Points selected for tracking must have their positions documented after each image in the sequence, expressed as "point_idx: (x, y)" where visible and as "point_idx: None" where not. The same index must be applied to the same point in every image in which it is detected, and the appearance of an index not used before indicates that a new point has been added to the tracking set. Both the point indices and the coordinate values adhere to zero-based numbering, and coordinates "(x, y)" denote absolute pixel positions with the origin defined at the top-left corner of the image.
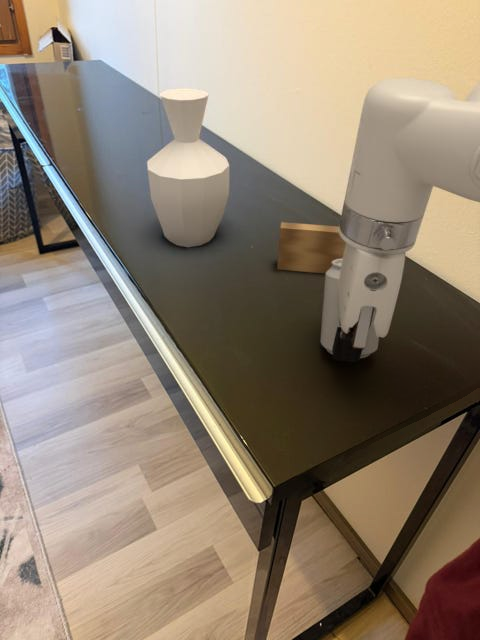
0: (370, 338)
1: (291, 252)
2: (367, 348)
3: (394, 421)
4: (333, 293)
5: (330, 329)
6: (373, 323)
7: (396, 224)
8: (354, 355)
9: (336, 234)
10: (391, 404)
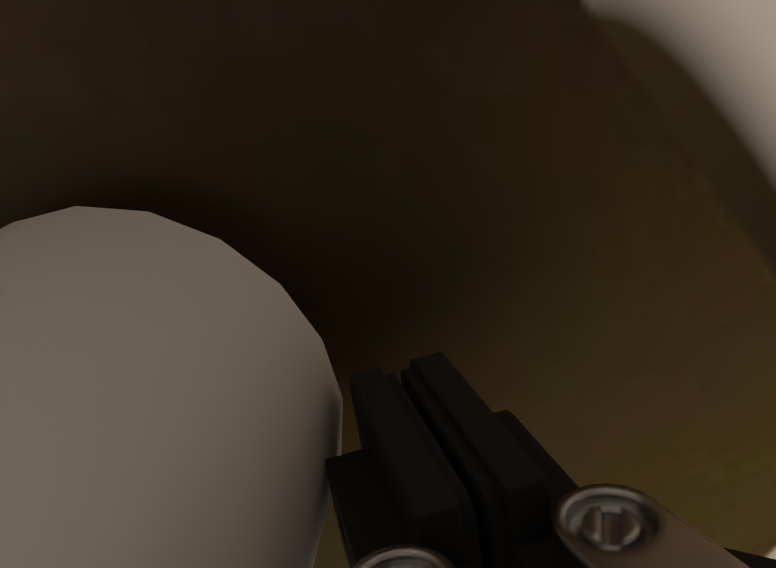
0: (239, 344)
1: None
2: (278, 316)
3: (594, 29)
4: None
5: None
6: (165, 422)
7: None
8: (524, 430)
9: None
10: (481, 48)
